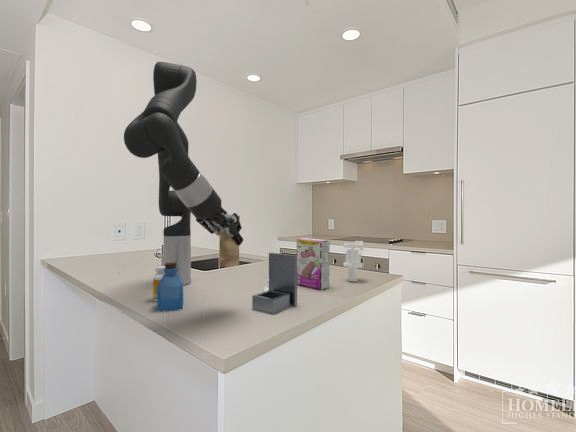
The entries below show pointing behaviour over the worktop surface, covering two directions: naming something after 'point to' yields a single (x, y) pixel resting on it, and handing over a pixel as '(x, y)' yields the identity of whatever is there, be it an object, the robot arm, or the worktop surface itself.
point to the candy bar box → (313, 263)
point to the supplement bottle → (157, 280)
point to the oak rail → (228, 250)
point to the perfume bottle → (170, 289)
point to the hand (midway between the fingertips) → (234, 242)
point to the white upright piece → (353, 259)
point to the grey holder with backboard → (279, 285)
